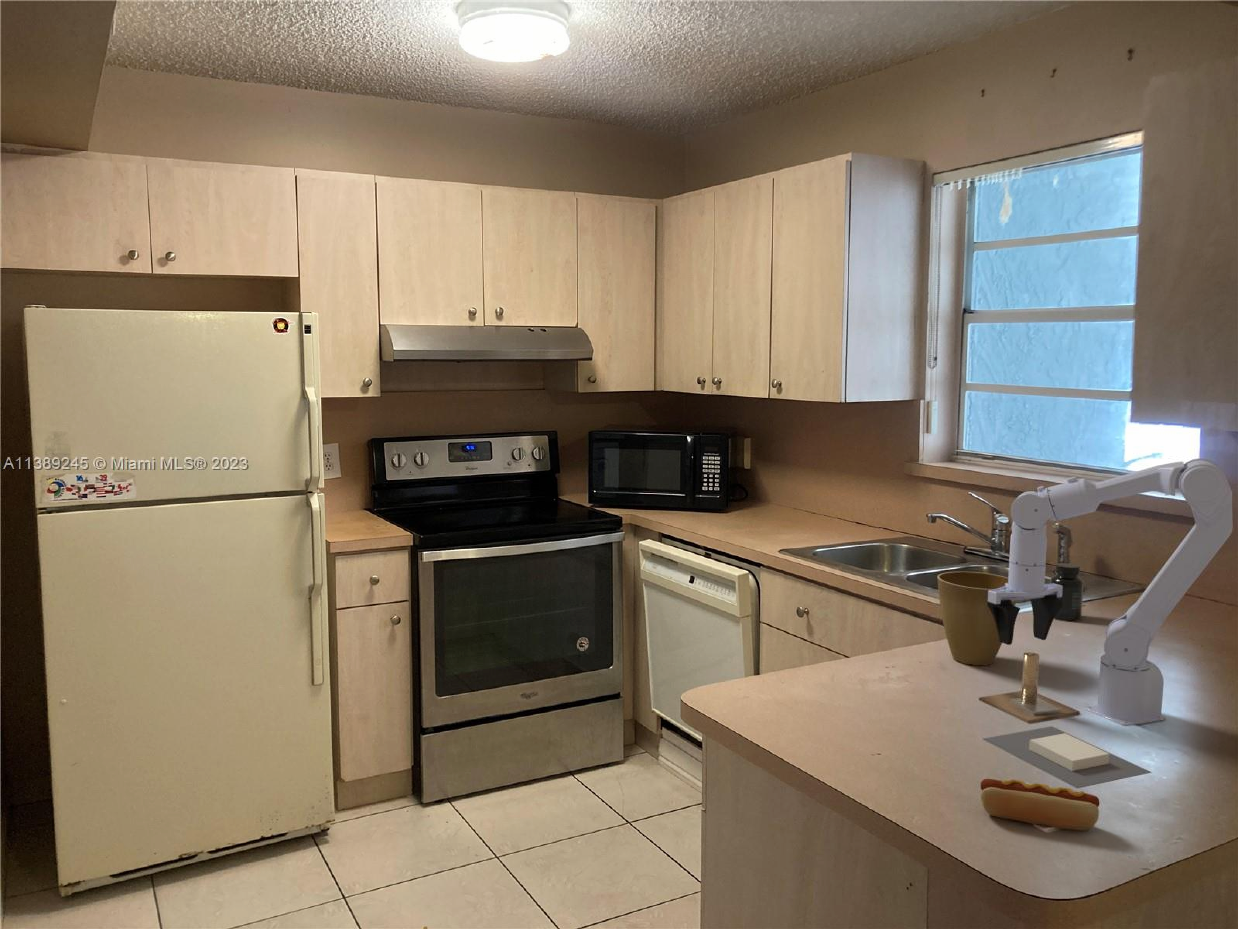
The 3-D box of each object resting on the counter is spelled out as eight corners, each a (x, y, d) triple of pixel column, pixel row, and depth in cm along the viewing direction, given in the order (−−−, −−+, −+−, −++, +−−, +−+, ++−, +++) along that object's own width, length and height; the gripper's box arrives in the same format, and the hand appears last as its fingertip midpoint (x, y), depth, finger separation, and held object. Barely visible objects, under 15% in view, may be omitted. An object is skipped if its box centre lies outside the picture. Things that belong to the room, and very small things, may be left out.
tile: (1065, 733, 147) (1109, 753, 140) (1064, 743, 147) (1108, 764, 140) (1029, 740, 145) (1072, 761, 137) (1029, 750, 145) (1071, 771, 137)
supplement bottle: (1041, 614, 222) (1044, 563, 220) (1065, 612, 224) (1069, 561, 222) (1063, 622, 215) (1066, 569, 214) (1088, 620, 217) (1091, 567, 216)
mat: (1051, 728, 154) (1051, 726, 154) (1151, 774, 138) (1151, 772, 138) (982, 741, 149) (982, 738, 149) (1076, 790, 132) (1076, 787, 132)
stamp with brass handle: (1010, 702, 163) (1012, 653, 162) (1035, 700, 165) (1038, 651, 164) (1033, 715, 158) (1036, 664, 157) (1059, 713, 159) (1063, 662, 158)
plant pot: (989, 678, 178) (993, 592, 176) (918, 657, 189) (922, 577, 188) (1030, 662, 187) (1034, 581, 186) (960, 643, 199) (964, 567, 197)
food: (1095, 821, 124) (1097, 784, 124) (1099, 841, 119) (1102, 803, 118) (979, 803, 129) (981, 767, 128) (978, 821, 124) (980, 784, 123)
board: (1028, 694, 170) (1028, 689, 170) (1079, 716, 160) (1079, 711, 160) (978, 702, 166) (979, 697, 166) (1027, 725, 156) (1027, 720, 155)
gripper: (1041, 555, 171) (1037, 630, 172) (976, 561, 165) (972, 638, 167) (1074, 563, 164) (1069, 641, 166) (1007, 569, 159) (1002, 650, 160)
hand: (1022, 640), depth 166 cm, fingers open, 7 cm apart
